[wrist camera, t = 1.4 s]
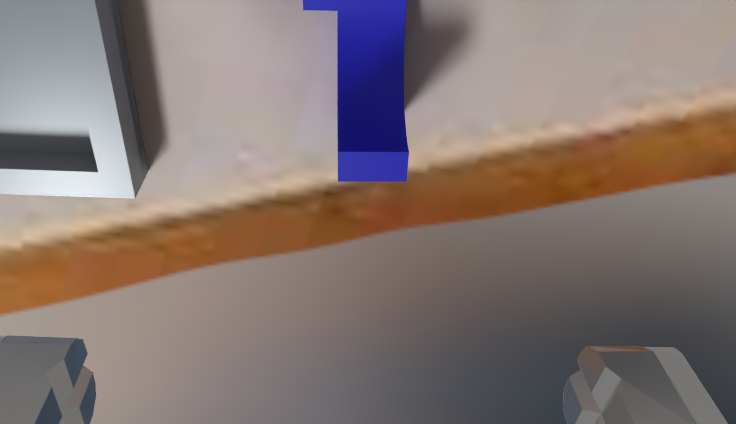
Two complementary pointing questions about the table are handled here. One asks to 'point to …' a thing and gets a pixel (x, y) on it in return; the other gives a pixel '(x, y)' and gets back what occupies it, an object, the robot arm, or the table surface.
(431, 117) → the table surface
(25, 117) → the tray
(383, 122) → the blue angular stepped piece
